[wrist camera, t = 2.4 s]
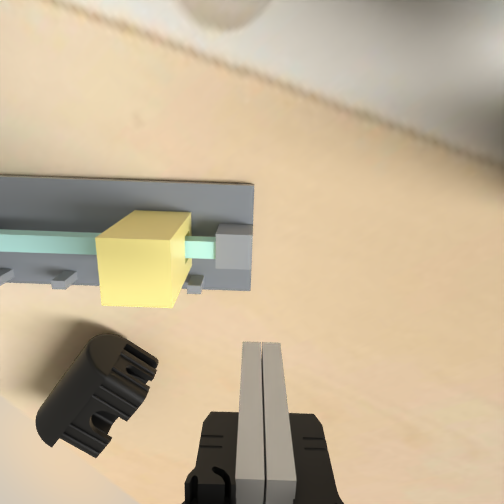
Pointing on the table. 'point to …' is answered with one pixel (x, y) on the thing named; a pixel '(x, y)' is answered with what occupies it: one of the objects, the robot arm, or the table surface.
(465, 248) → the table surface
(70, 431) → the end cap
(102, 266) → the sleeve
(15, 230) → the comb rail
